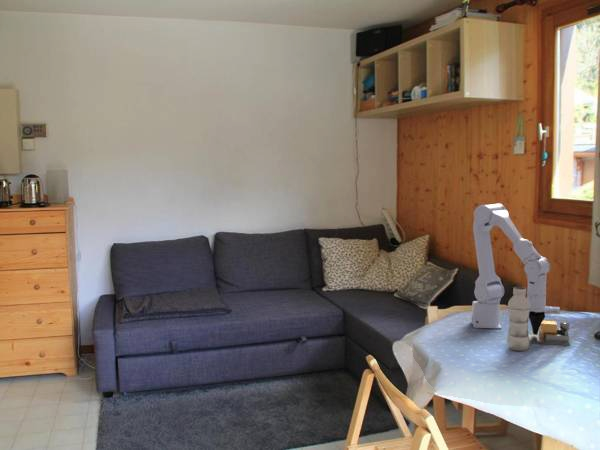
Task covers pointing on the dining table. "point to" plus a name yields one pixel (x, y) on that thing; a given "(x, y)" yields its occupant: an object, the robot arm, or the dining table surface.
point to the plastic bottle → (518, 320)
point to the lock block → (547, 328)
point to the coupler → (552, 336)
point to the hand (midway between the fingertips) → (535, 333)
